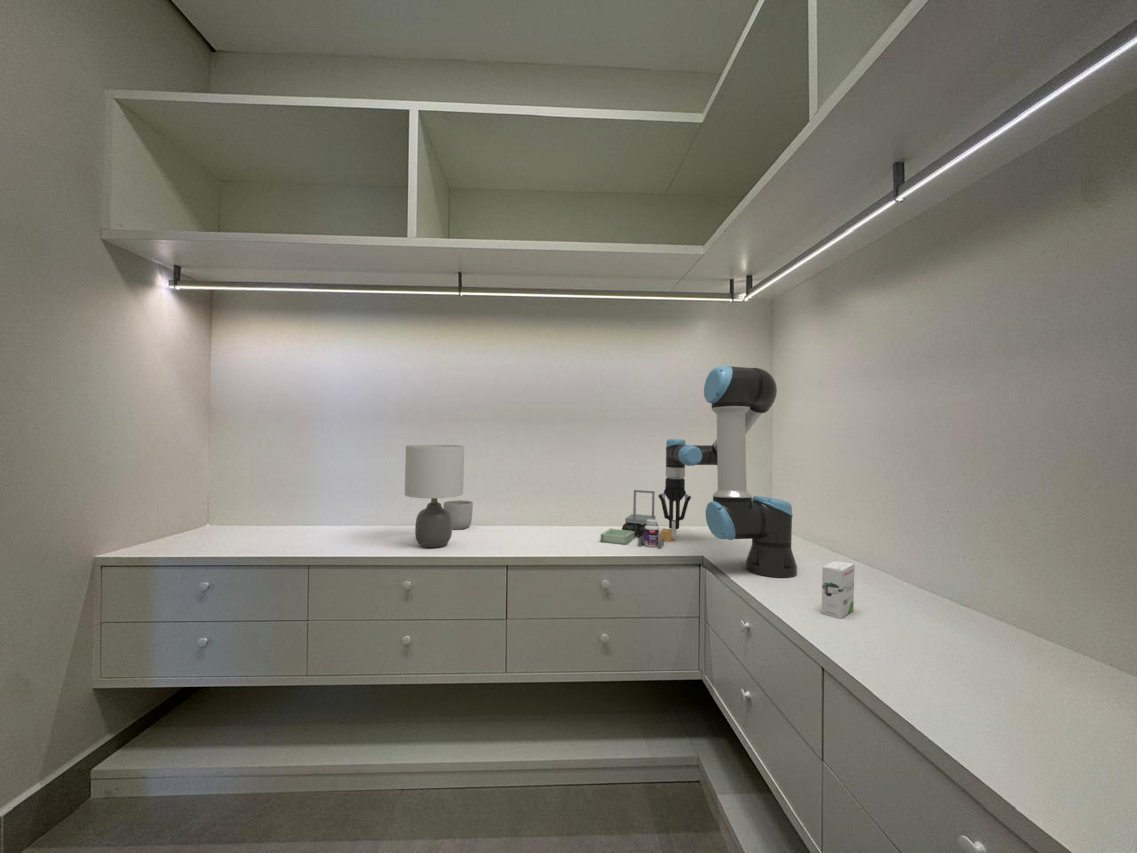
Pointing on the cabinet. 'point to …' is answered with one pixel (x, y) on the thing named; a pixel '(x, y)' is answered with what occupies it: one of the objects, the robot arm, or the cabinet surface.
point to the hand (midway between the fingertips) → (673, 536)
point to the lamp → (434, 488)
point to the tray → (617, 536)
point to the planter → (459, 513)
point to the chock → (667, 535)
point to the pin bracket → (660, 542)
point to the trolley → (638, 517)
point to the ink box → (837, 589)
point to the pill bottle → (651, 533)
